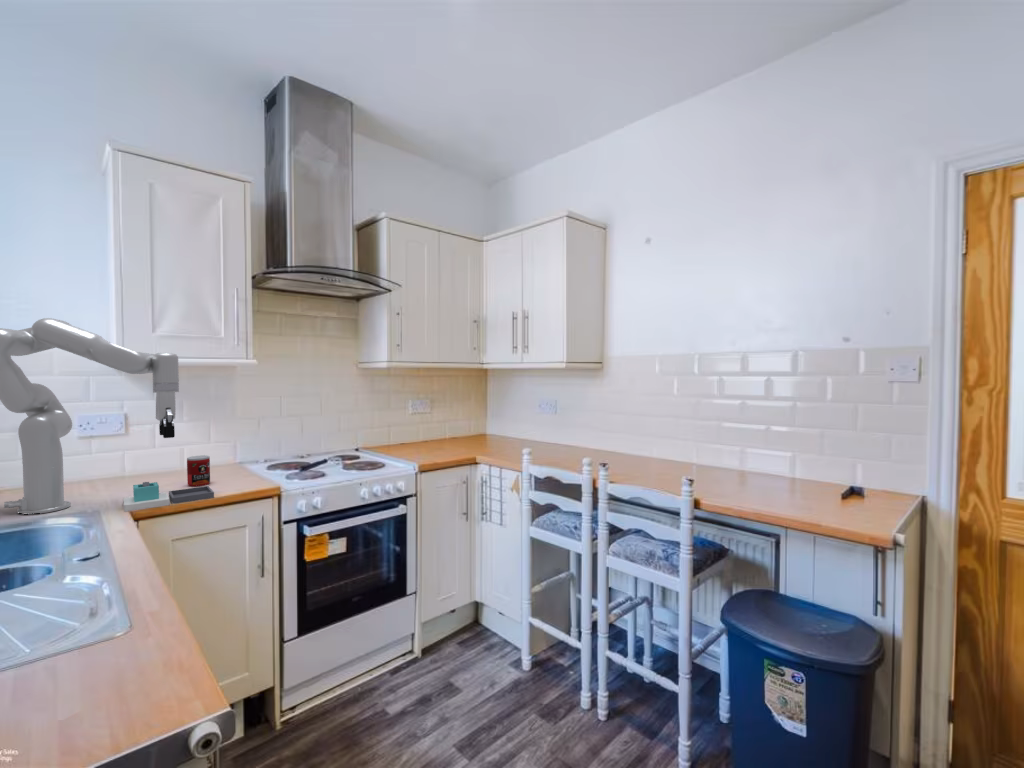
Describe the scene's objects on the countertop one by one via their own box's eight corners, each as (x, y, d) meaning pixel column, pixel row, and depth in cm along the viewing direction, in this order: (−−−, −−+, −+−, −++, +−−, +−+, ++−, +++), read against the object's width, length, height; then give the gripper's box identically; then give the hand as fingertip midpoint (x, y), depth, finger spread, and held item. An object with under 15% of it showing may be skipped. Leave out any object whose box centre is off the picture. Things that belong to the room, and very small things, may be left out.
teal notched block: (134, 502, 161) (134, 488, 161) (133, 498, 166) (133, 485, 166) (159, 498, 165) (158, 485, 165) (157, 494, 170) (157, 482, 170)
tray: (172, 503, 166) (172, 498, 166) (168, 496, 176) (168, 491, 176) (214, 497, 174) (213, 492, 174) (208, 491, 184) (208, 485, 183)
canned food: (192, 487, 189) (191, 459, 188) (184, 484, 194) (183, 457, 193) (213, 484, 195) (213, 456, 194) (205, 481, 200) (204, 454, 199)
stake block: (124, 511, 157) (123, 488, 157) (123, 503, 167) (122, 481, 166) (169, 504, 165) (169, 482, 165) (166, 497, 174) (165, 476, 174)
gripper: (150, 387, 176) (151, 434, 177) (155, 389, 163) (157, 439, 164) (175, 387, 181) (175, 432, 182) (182, 388, 168) (183, 437, 169)
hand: (166, 436), depth 173 cm, fingers open, 9 cm apart
